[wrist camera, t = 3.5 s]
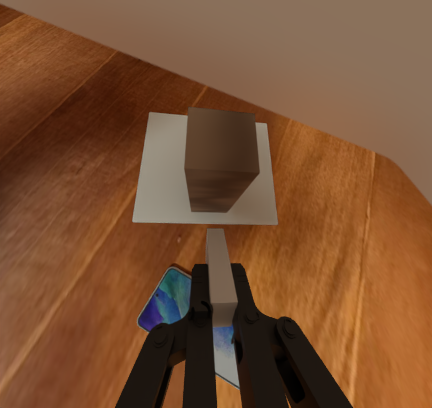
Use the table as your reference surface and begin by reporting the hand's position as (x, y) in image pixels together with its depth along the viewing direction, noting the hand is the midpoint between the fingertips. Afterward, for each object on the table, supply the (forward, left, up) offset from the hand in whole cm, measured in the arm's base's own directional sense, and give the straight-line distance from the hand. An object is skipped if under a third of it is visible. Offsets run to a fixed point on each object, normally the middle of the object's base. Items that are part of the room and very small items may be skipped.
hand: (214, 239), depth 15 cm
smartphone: (0, -9, -7) cm, 12 cm away
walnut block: (0, +7, -6) cm, 9 cm away
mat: (0, +12, -7) cm, 13 cm away
